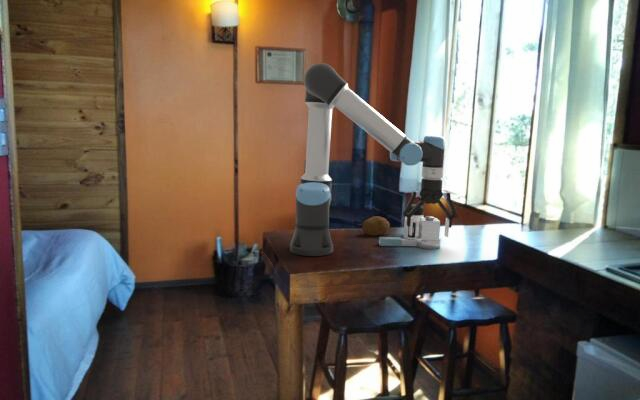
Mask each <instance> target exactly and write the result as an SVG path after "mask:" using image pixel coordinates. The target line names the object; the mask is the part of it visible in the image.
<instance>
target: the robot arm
mask: <svg viewBox="0 0 640 400" xmlns="http://www.w3.org/2000/svg"><path fill="white" fill-rule="evenodd" d="M303 83H304V87H305V96H304V97H305V98H304V104H305V105H306V106H307V107H308V118H307V119H308V120H307V133H306V135H307V137H306V151H305V152H306V154H305V168H304V169H305V170H304V171H305V172H304V174H303V175H302V176H301V177H300V184H298V185H297V187H296V190H295V229H294V232H293V234H292V235H293V236H292V238H291V241H290V243H289V246H290V247H289V251H290V253H293V254H295V255H299V256H304V257H305V256H307V257H318V256H319V257H320V256H321V257H323V256H327V255H330V254H332V253H333V252H334V244H333V240H332V237H331V234H330V229H329V227H330V226H329V225H330V206H331V202H332V186H333V183H332V182H333V179H332V178H331V176H330V175H329V167H330V152H331V135H332V124H333V110H334V108H336V109H337V110H338V111H339V112H340V113H342V114H343V115H345V116H346V117H347V118H348V119H349V120H350V121H352V122H353V123H355V124H356V125H357V126H359V128H360V129H362V130H363V131H365V132H366V133H367V134H368V135H369V136H371V137H372V138H373V139H374V140H375V141H377V142H378V143H379V144H380V145H382V146H383V148H385V149H386V150H388V151H389V159H390V161H392V162H397V163H398V162H402V164H404V165H406V166H408V167H409V166H415V165H417V164H419V163H422V165H421V182H420V183H421V185H420V191H415V190H412V192H411V196H410V197H409V200H408V201H407V203H406V205H405V207H404V209H403V211H402V213H401V214H402V216H403V217H407V226H409V235H410V236H412V227H413V218H412V216H413V214H414V213H415V212H416V211H417V210H418V209H419V208H420V207H421V206H423V205H424V204H426V205H427V204H428V205H429V204H432V205H436V204H437V205H438V206H439V207H440V209H441V210H442V211H443V213H444V214H445V215H446V217H445V224H444V225H445V226H444V236H445V237H446V238H449V228H452V226H453V225H452V223H453V219H455V218H458V214H457V211H456V209H455V206H454V204H453V202H452V199H451V192H449V191H445V192H443V191H442V190H443V179H442V178H443V176H444V160H445V151H446V146H445V144H446V142H445V137H444V136H441V135H425V136H424V137H423V140H419V141H417V140H413V139H410V138H409V137H408V136H407V135H406V134H405V133H403V132H402V131H401V130H400V129H399V128H397V127H396V126H395V125H394V124H392V122H390V121H389V120H388V119H386V118H385V117H384V116H383V115H382V114H380V112H378V111H377V110H376V109H375V108H373V107H372V106H371V105H370V104H368V103H367V102H366V101H365V100H364V99H362V98H361V96H359V95H358V94H357V93H355V92H354V91H353V90H352V89H351V88H350V87H349V83H348V82H347V81H346V80H344V78H342V77H341V76H340V74H338V73H337V71H336V70H335V68H334V67H332V66H331V65H329V64H328V63H324V62H318V63H315V64H313V65H311V66H310V67H309V68H307V70H306V71H305V74H304V78H303ZM418 197H420V199H419V200H418V202H417V203H416V204H414V202H415V200H416V198H418ZM442 198H445V199H446V203H447V205H448V207H449V210H450V212H451V213H450V212H449V210H448V209H447V208H446V206H445V205H444V204H443V202H442V201H441V199H442ZM412 205H415V206H414V207H413V209H412V210H411V211H410V212H409V213H408V211H409V209H410V207H411V206H412Z"/></svg>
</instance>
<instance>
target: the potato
mask: <svg viewBox="0 0 640 400" xmlns="http://www.w3.org/2000/svg"><path fill="white" fill-rule="evenodd" d="M390 226H391V224H390V221H388V220H387V218H385V217H382V216H378V215H376V216H372V217H369V218H367V219H365V220H363V222H362V232H363V233H364V234H365V235H368V236H383V235H385V234H387V233H388V232H389V229H390Z"/></svg>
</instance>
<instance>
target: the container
mask: <svg viewBox="0 0 640 400" xmlns="http://www.w3.org/2000/svg"><path fill="white" fill-rule="evenodd" d="M415 205H416V204H412V206H411V207H410V209H409V211H408V213H409V212H410V211H411V210H412V209H413V207H414V206H415ZM424 211H425V207H424V206H423V205H422V206H421V207H420V208H419V209H418V210H417V211H416V212H415V213H414V214H413V216H412V218H413V227H412V236H410V235H409V226H407V217H406V216H404V224H403V225H404V226H403V239H416V237H417V236H419V220H420V218H425V217H424Z"/></svg>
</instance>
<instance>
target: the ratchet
mask: <svg viewBox="0 0 640 400" xmlns="http://www.w3.org/2000/svg"><path fill="white" fill-rule="evenodd" d="M378 244H379V246H380V247H402V246H404V247H417V248H419V249H422V250H438V249H440V248H441V238H440V237H439V241H428V240H421V239H420V238H419V236H417V237H416V239H404V238H402V237H399V236H398V237H397V236H379V237H378Z"/></svg>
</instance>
